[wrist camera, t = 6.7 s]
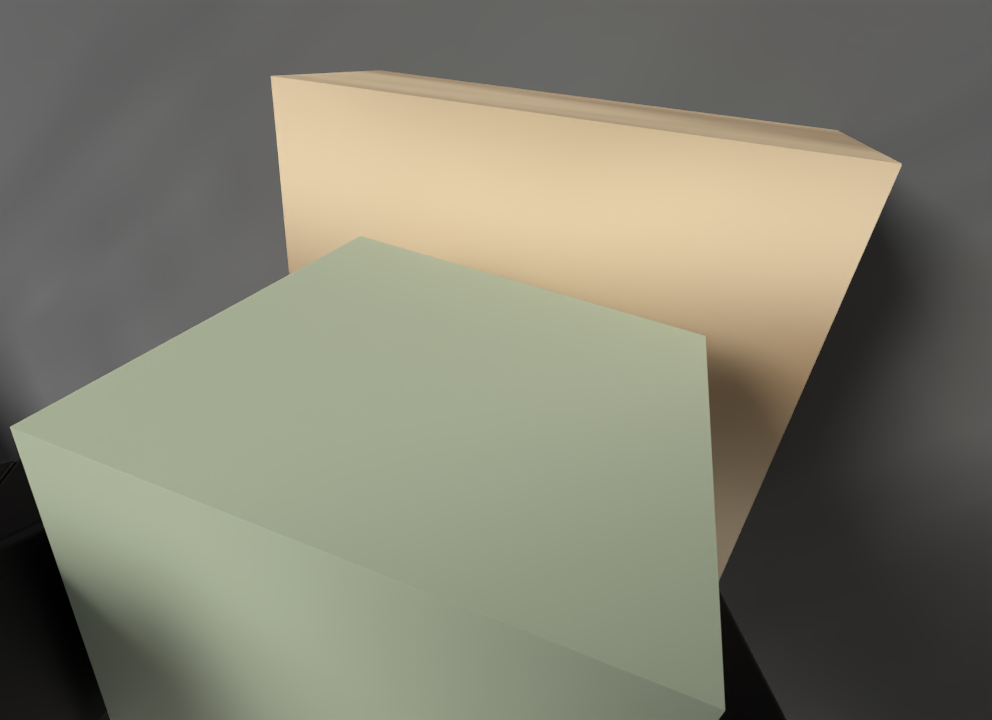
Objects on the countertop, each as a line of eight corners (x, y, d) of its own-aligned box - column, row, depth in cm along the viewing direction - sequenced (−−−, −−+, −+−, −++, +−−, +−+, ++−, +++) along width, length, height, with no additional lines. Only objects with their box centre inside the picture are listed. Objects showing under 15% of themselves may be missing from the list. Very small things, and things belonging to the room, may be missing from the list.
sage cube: (601, 581, 10) (535, 968, 6) (346, 485, 11) (125, 762, 7) (706, 336, 7) (725, 709, 3) (360, 235, 8) (9, 426, 4)
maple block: (698, 492, 15) (700, 621, 11) (387, 409, 17) (310, 499, 13) (833, 128, 10) (901, 163, 7) (386, 70, 12) (270, 75, 9)
